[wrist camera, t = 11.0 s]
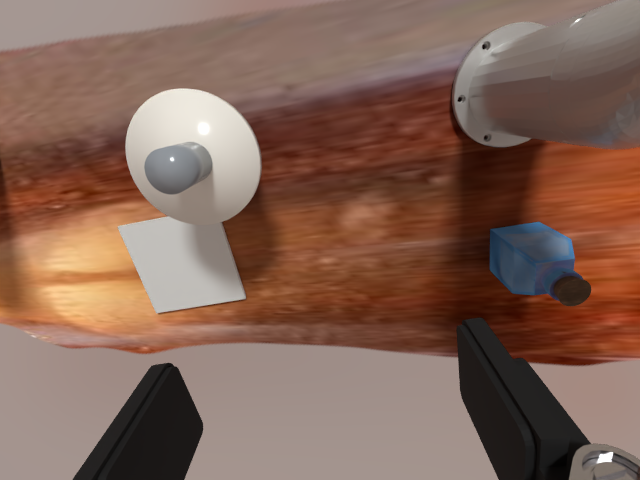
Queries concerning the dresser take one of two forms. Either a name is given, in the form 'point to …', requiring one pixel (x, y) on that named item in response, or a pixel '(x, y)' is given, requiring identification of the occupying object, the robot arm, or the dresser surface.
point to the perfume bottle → (537, 263)
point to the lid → (193, 156)
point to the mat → (183, 263)
